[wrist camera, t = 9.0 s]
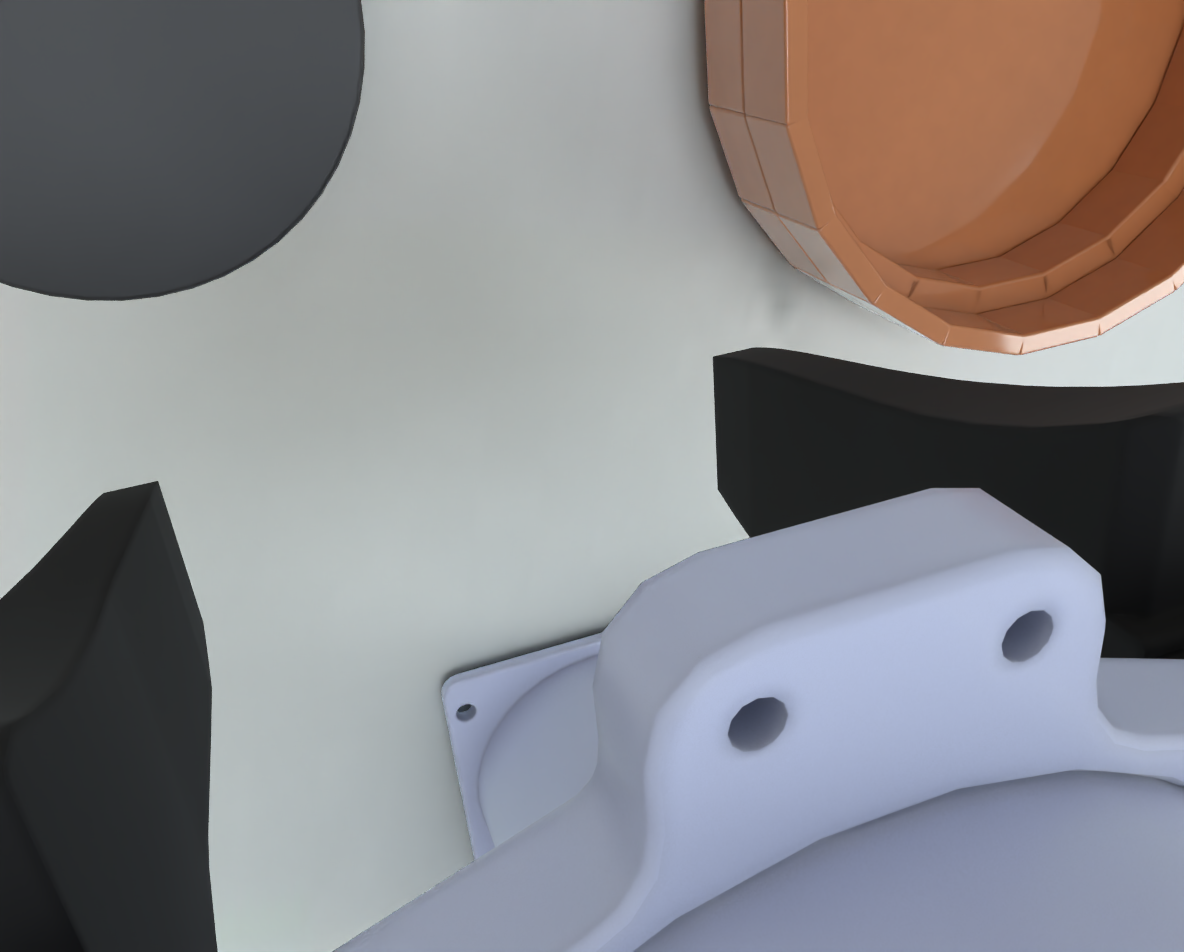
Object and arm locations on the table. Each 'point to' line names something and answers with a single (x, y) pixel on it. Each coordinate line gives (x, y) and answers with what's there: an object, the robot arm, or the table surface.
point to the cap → (165, 136)
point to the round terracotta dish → (962, 156)
